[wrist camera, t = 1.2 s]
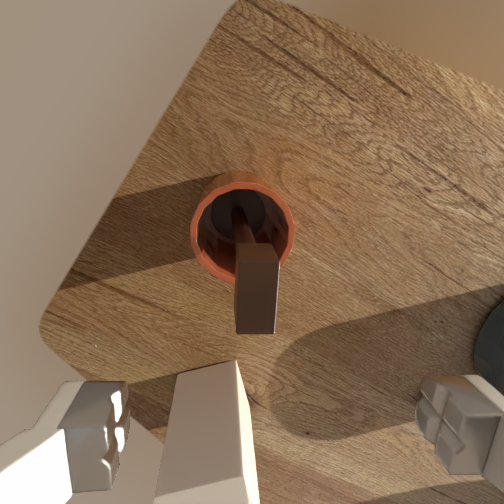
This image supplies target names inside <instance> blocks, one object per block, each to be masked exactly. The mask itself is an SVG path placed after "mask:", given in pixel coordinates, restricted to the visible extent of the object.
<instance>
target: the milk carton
mask: <svg viewBox="0 0 504 504" xmlns="http://www.w3.org/2000/svg"><path fill="white" fill-rule="evenodd" d="M154 504H260V502H259V492H258V483H257V473H256V464H255V454H254V444H253V435H252V425H251V415H250V407H249V403H248V400H247V396H246V393H245V389H244V386H243V382H242V379H241V375H240V372H239V368H238V365H237V361H236V360H233V361H229V362H224V363H220V364H216V365H212V366H208V367H204V368H200V369H196V370H192V371H188V372H184V373H180V374H178V375H177V380H176V385H175V390H174V396H173V401H172V406H171V411H170V416H169V422H168V427H167V432H166V437H165V443H164V448H163V453H162V458H161V464H160V469H159V475H158V479H157V485H156V490H155V496H154Z"/></svg>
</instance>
